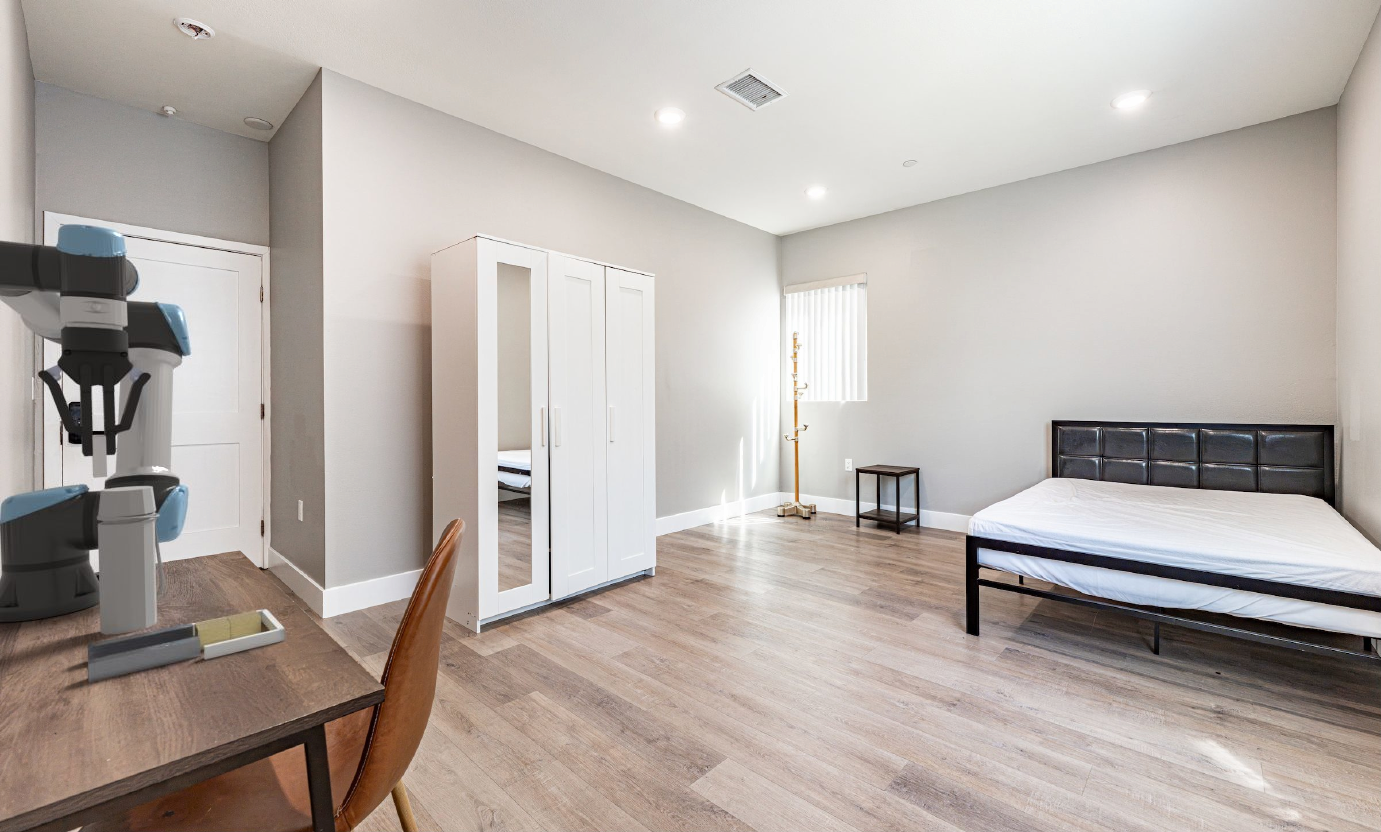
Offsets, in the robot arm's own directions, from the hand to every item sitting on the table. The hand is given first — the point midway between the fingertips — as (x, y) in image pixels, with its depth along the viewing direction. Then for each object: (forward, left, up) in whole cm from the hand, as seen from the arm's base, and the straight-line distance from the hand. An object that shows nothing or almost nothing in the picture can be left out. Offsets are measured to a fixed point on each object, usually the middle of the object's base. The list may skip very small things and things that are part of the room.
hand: (100, 476), depth 96 cm
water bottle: (-7, +4, -28) cm, 29 cm away
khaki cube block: (+13, +16, -28) cm, 34 cm away
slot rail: (+13, +4, -28) cm, 31 cm away
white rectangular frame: (+13, +15, -28) cm, 34 cm away
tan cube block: (+13, +12, -28) cm, 33 cm away
